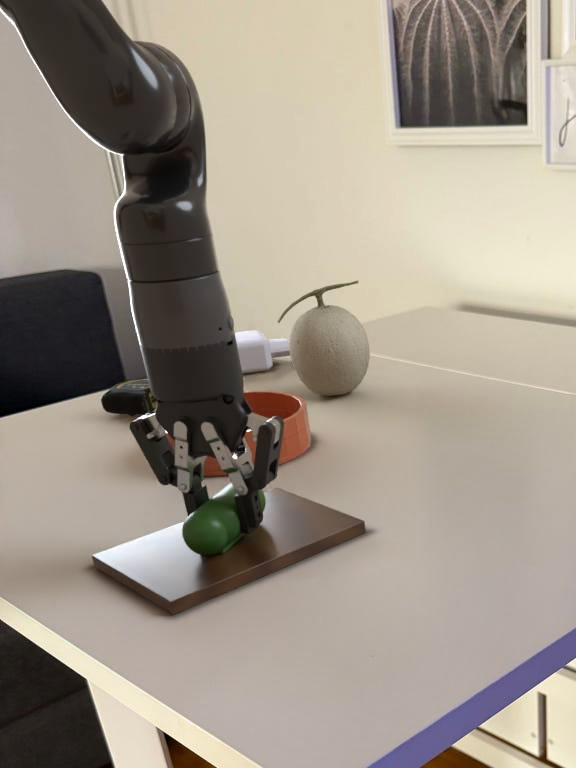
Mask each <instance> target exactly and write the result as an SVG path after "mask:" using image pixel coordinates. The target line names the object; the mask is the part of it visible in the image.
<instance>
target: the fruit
mask: <svg viewBox="0 0 576 768" xmlns="http://www.w3.org/2000/svg"><path fill="white" fill-rule="evenodd" d="M356 284H357V285H358V284H359V280H358V279H357V280H353V281H351V282H344V283H337V284H331V285H326V286H323V287H321V288H316V289H314V290H312V291H310V292H308V293H306V294H304V295H302V296H301V297H300V298H298V299H296V300H295V301H293V302H292V303H291V304H290V305H289V306H288V307H287V308H285V309H284V311H283V312H282V313H281V315H280V316H279V318H278V320H277V323H278V324H280V323H281V321H282V320H283V318H284V317H285V316H286V314H287V313H288V312H289V311H290V310H292V309H293V307H295V306H296V305H298V304H299V303H301V302H303V301H304V300H306V299H308V298H310V297H315V299H316V303H317V306H315V307H312V308H311V309H309V310H307V311H305V312H303V313H302V314H301V315H300V316H299V317H298V318H297V319H296V321H295V322H294V323H293V326H292V328H291V330H290V331H291V332H290V334H289V341H288V342H289V348H290V356H289V357H290V360H291V363H292V366H293V369H294V372H295V373H296V374H297V376H298V378H299V380H300V382H301V383H302V384H303V385H304V386H305V387H306V388H307V389H308V390H310V391H311V392H313V393H314V394H317V395H320V396H327V397H328V396H329V397H330V396H341V395H342V396H343V395H345V394H346V395H347V394H349V393H350V392H352V391H354V390H355V389H356V388H358V387H359V386H360V384H361V383H362V382H363V381H364V378H365V376H366V375H367V372H368V368H369V364H370V356H371V354H370V353H371V351H370V343H369V339H368V335H367V332H366V330H365V328H364V326H363V325H362V323H361V322H360V320H359V319H358V318H357V317H356V315H354V314H353V313H352V312H350V311H349V310H348V309H346V308H344V307H341V306H338V305H331V304H325V303H324V299H323V294H325V293H327V292H328V291H333V290H336V289H341V288H343V287H348V286H352V285H356Z"/></svg>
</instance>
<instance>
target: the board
mask: <svg viewBox="0 0 576 768" xmlns="http://www.w3.org/2000/svg"><path fill="white" fill-rule="evenodd" d="M263 492H264V495H265V500H266V505H265V509H264V511H263V521H262V522H261V523H260V524H259V527H258V528H257V529H256V530H255V531H254V532H253V533H252V534H245V535H244V536H243V537H241V538H240V539H239V540H238V541H237V542H236V543H235V544H234V545H233V546H231V547H230V548H229V549H228V550H227V551H226V552H225V553H224V554H219V553H217V554H214V555H207V556H206V555H200V554H197V553H195V552H193V551H192V550H191V549H190V548H189V547H188V546H187V545H186V543H185V541H184V539H183V536H182V527H183V524H184V522H185V520H184V521H181V522H179V523H176V524H174V525H171V526H168V527H165V528H162V529H160V530H158V531H154V532H151V533H148V534H146V535H144V536H141V537H138V538H135V539H132V540H129V541H126V542H124V543H121V544H119V545H116V546H113V547H110V548H108V549H104V550H102V551H99V552H96V553H94V554H91V559H92V563H93V565H94V568H95V569H97V570H99V571H100V572H102V573H104V574H105V575H107V576H109V577H110V578H113V579H114V580H115V581H117V582H119V583H120V584H122V585H124V586H125V587H127V588H128V589H130V590H132V591H134V592H136V593H137V594H139V595H140V596H142V597H144V598H145V599H147V600H148V601H150V602H151V603H154V604H155V605H156V606H158V607H160V608H162V609H164V610H165V611H167V612H168V613H170V614H172V615H177V614H179V613H181V612H184V611H186V610H188V609H191V608H193V607H195V606H197V605H200V604H202V603H205V602H208V601H209V600H212V599H214V598H217V597H219V596H221V595H223V594H226V593H228V592H230V591H233V590H235V589H237V588H240V587H242V586H244V585H246V584H249V583H251V582H253V581H256V580H258V579H261V578H263V577H265V576H267V575H270V574H272V573H274V572H277V571H279V570H281V569H284V568H286V567H288V566H291V565H293V564H295V563H298V562H300V561H303V560H305V559H307V558H309V557H312V556H314V555H316V554H319V553H321V552H324V551H325V550H328V549H330V548H333V547H336V546H338V545H340V544H342V543H345V542H347V541H349V540H351V539H355V538H357V537H359V536H361V535H363V534H365V533H367V532H366V531H367V529H366V521H365V520H363V519H361V518H358V517H355V516H352V515H350V514H347V513H345V512H342V511H340V510H337V509H335V508H332V507H330V506H326V505H324V504H322V503H319V502H316V501H314V500H311V499H309V498H307V497H303V496H301V495H298V494H296V493H293V492H290V491H288V490H285V489H282V488H279V487H274V488H272V489H269V490H266V491H263Z"/></svg>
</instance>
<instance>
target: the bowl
mask: <svg viewBox="0 0 576 768" xmlns="http://www.w3.org/2000/svg"><path fill="white" fill-rule="evenodd" d="M244 396H245V399H246V400H247V402H248V404H249V405H250V406H251V408H252V411H253V413H255V414H258V415H261V416H263V417H266V418H269V419H271V418H272V417H274V416H279V417H281V418H282V419H283V421H284V430H283V437H282V444H281V451H280V458H279V465H282V464H285V463H287V462H288V463H289V462H290V461H292V460H294V459H296V458H298V457H300V456H302V455H303V454H304V453H305V452H306V451H308V450H309V448H310V446H311V444H312V434H311V433H312V432H311V428H310V427H311V426H310V421H309V415H308V408H307V404H306V401H305V399H304V398H303V397H300V396H299V395H297V394H293V393H288V392H285V391H275V390H244ZM165 435H166V437H167V438H168V440H169V442H170V444H171V446H172V448H173V450H174V451H175V441H174V440H173V438H172V437H171V436H170V435H169V434H168V433H167V432H166V431H165ZM244 437H245V439H246V441H247V444H248V446H249V448H250V450H251V453H252V463H253V465H254V461H255V453H256V445H257V442H254V441H253V440H252V438H253V437H252V431H251V429H250V428H249V427H248V429H247V431H246V434H245V436H244ZM231 455H232V456H234V452H232V453H231ZM279 465H278V466H279ZM219 476H220V477H223V476H228V474H227V473H226V472H223V471H222V469H221V467H220V465H219V463H218V461H217V459H216V458H213V457H210V456H207V457H206V459H205V461H204V475H203V477H219Z"/></svg>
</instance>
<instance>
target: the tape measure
mask: <svg viewBox="0 0 576 768" xmlns="http://www.w3.org/2000/svg"><path fill="white" fill-rule="evenodd" d="M100 402H101V406H102V409H103V410H104V411H105V412H106V413H108V414H113V415H124V416H125V415H127V416H128V417H131V418H132V417H136V416H138V415H139V416H143V415H145V414H147V413H152V412H155V409H156V405H157V399H156V398H155V397H154V396H153V395H152V393H151V390H150V386H149V381H148V378H147V379H145V378H143V379H132V380H126V381H123V382H119V383H117V384H115V385H113V386H112V387H111V388H110V389H109V390H107V391H106V392H105V393H104V394H103V395H102V396H101V399H100Z"/></svg>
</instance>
